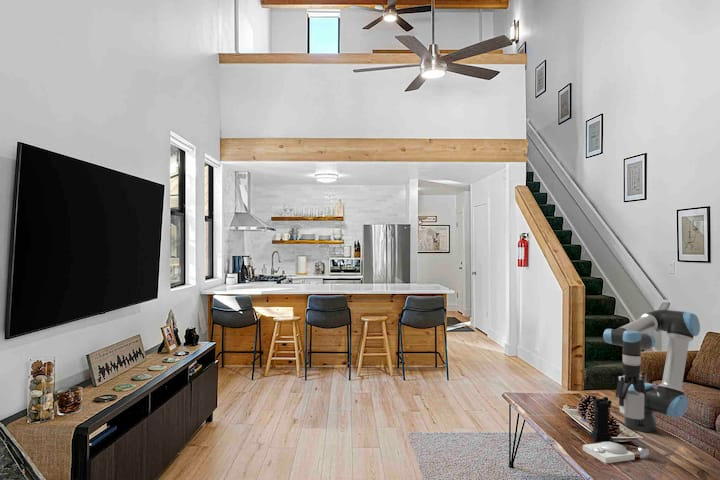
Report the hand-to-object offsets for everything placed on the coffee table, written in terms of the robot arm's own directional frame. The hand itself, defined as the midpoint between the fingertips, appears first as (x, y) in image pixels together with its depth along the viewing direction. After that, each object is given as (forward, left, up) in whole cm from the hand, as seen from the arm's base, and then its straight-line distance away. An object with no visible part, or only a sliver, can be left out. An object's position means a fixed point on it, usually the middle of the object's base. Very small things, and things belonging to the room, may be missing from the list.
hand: (630, 412), depth 224 cm
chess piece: (+3, -15, -18) cm, 24 cm away
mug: (0, 0, -2) cm, 2 cm away
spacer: (0, +7, -18) cm, 20 cm away
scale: (+14, +1, -18) cm, 23 cm away
